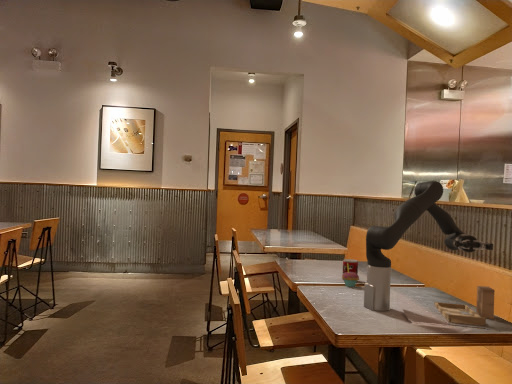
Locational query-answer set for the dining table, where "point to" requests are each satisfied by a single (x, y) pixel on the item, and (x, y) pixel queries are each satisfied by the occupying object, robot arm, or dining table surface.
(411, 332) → the dining table surface
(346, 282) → the cupcake
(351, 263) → the canned food
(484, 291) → the walnut block
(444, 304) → the tray
